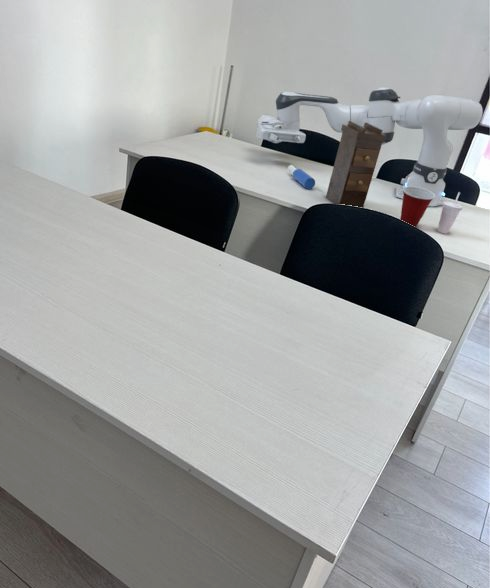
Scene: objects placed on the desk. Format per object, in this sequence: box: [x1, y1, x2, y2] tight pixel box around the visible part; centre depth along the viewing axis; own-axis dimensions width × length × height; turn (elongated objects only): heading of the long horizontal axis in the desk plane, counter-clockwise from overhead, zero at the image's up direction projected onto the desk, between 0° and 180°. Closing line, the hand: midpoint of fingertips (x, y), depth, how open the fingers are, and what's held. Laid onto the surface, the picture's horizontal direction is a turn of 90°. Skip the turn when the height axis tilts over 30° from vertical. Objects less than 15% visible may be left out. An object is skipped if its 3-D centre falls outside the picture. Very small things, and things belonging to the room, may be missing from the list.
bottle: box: [287, 164, 316, 190], centre depth 230 cm, size 20×4×4 cm
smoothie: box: [436, 191, 463, 235], centre depth 198 cm, size 6×6×14 cm
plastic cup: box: [399, 186, 435, 228], centre depth 199 cm, size 11×11×12 cm
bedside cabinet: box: [325, 121, 387, 208], centre depth 206 cm, size 14×11×28 cm
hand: (288, 140), depth 236 cm, fingers open, 8 cm apart
